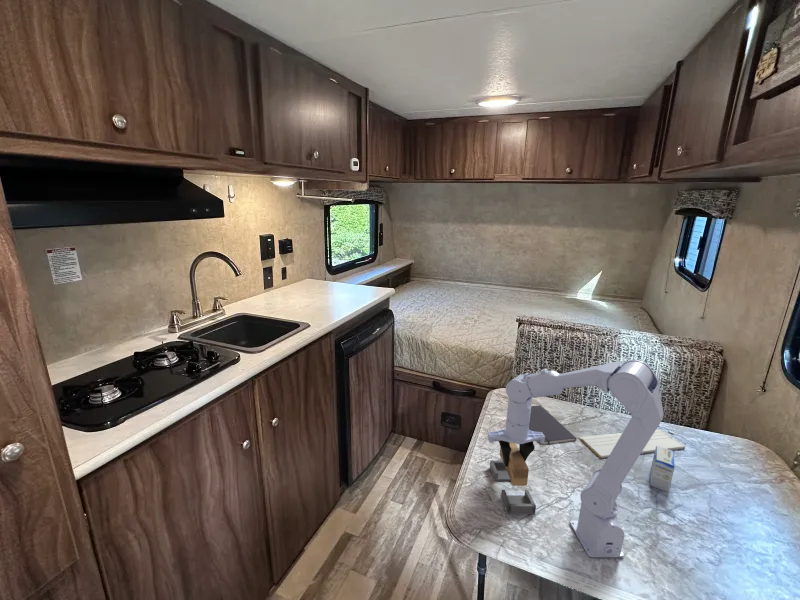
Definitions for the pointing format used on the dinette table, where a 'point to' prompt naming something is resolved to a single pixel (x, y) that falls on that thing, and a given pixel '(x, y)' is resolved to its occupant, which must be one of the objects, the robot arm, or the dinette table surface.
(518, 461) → the brown wooden block
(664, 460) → the medicine box
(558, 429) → the notebook
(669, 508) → the dinette table surface
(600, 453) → the baseboard molding
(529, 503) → the end caps
